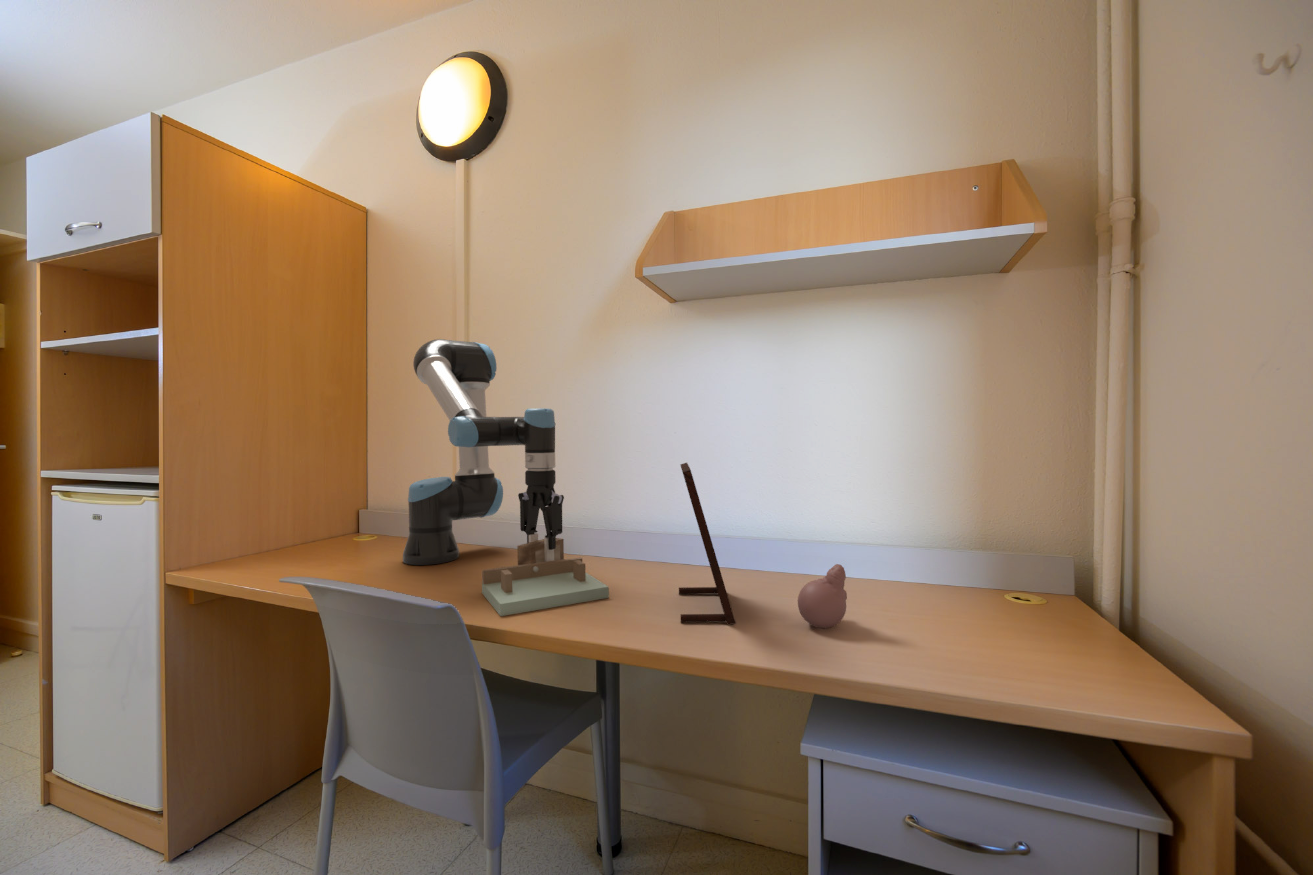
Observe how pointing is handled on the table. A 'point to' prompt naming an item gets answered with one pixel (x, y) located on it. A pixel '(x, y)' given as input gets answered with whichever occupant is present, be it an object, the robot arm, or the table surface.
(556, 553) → the walnut frame
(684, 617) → the black easel stand
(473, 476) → the robot arm
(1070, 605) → the table surface
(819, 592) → the figurine
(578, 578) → the green assembly board
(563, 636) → the table surface
